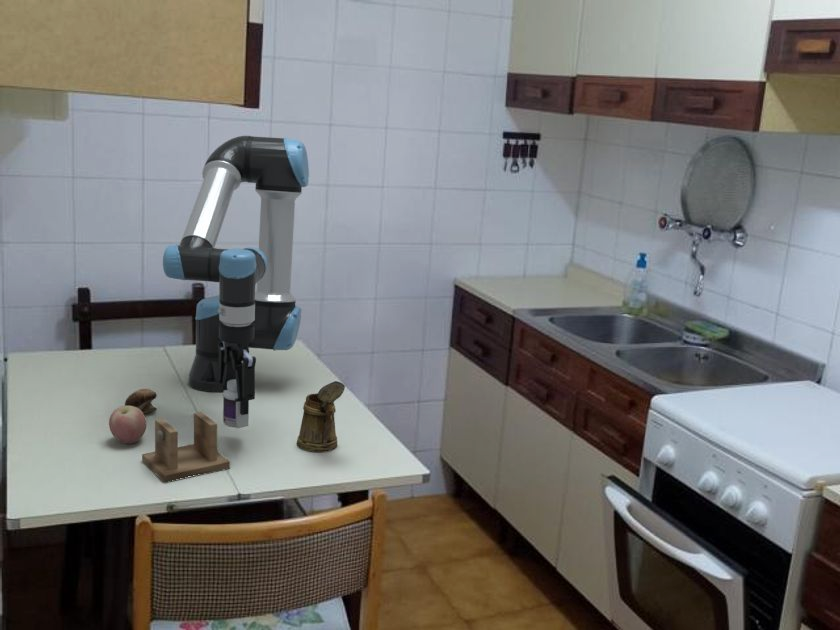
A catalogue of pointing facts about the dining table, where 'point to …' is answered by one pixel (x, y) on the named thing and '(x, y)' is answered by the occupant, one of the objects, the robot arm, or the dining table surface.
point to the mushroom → (142, 400)
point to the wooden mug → (320, 419)
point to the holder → (185, 451)
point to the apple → (127, 424)
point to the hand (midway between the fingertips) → (235, 421)
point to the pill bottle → (230, 404)
